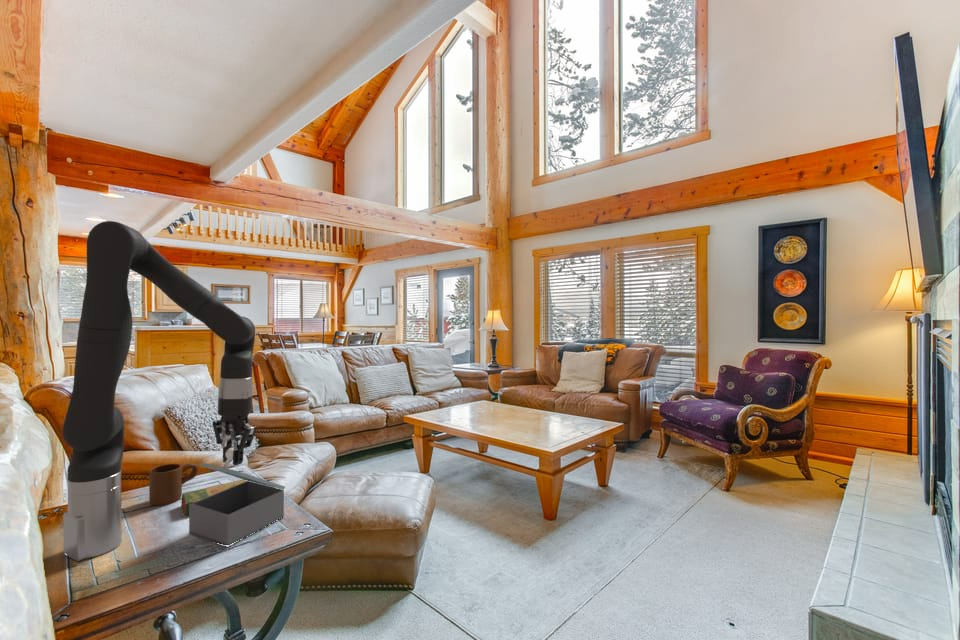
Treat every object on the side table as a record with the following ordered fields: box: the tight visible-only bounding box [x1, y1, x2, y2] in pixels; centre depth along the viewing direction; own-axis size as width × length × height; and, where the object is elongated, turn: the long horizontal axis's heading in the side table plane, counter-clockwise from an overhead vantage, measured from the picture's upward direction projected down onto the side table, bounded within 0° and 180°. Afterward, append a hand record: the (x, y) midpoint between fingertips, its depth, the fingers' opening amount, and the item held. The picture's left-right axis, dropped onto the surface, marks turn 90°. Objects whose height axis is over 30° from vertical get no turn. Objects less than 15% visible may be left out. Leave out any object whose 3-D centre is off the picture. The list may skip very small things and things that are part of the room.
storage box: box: [188, 480, 285, 545], centre depth 110 cm, size 16×14×8 cm
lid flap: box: [199, 446, 286, 490], centre depth 113 cm, size 16×14×6 cm
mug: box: [148, 462, 199, 506], centre depth 126 cm, size 12×8×9 cm, turn 139°
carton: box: [180, 479, 247, 518], centre depth 123 cm, size 8×16×4 cm, turn 130°
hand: (232, 462), depth 109 cm, fingers closed on lid flap, 3 cm apart
